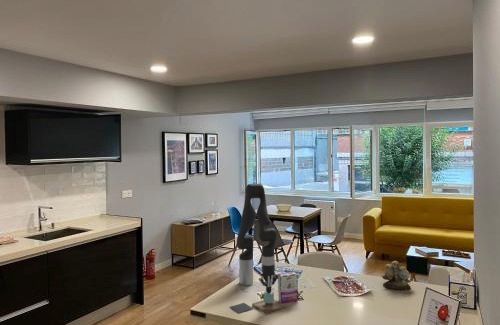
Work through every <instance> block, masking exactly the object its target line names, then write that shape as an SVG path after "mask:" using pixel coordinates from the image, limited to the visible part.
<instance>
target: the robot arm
mask: <svg viewBox="0 0 500 325" xmlns="http://www.w3.org/2000/svg"><path fill="white" fill-rule="evenodd" d="M265 192H266V191H265V186H264V185H263V184H262V183H248V184H247V185H246V186H245V192H244V201H243V202H244V204H243V209H242V214H241V220H240V226H239V230H238V232H237V233H238V234H237V238H236V247H237V249H238V250H244V251H243V252H241V253H240V254H239V256H238V258H239V260H238V261H239V262H238V263H239V268H238V276H239V277H238V278H239V279H238V280H239V285H241V286H247V287H248V286H252V285H253V284H254V258H253V257H254V237H253V236H252V234H247V233H248V232H249V231H250V230H251V229H252V228H253V226H254V225H255V223H256V220H257V223H258V239H259V240H260V241H261V242H268V243H266V244H263V245H262V246H261V252H262V253H261V271H262V274H261V277H259V278H258V281H259V282H260V283H261V284H262V286H264V287H265V291H266V292H267V293H271V291H272V286H273V285H274V286H275V284H276V282H277V281H278V274H276V272H275V271H276V265H275V264H276V262H275V261H276V260H275V259H276V258H275V246H276V242H277V238H278V232H277V230H276V229H275V228H273V227H271V228H270V227H269V226H271V219H270V216H269V213H268V207H267V200H266V199H267V197H266V193H265ZM252 199H259V205H258V207H257V210H255V208H254V206H253V204H252ZM268 227H269V228H268Z"/></svg>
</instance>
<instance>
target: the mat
mask: <svg viewBox="0 0 500 325" xmlns="http://www.w3.org/2000/svg"><path fill="white" fill-rule="evenodd" d="M229 308H230V309H231V310H232V311H234V312H235V313H236V314H242V313H246V312H248V311H251V310H254V307H253V306H250V305H248V304H247V303H245V302H241V303H238V304H234V305H231V306H229Z"/></svg>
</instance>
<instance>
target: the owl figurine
mask: <svg viewBox="0 0 500 325" xmlns="http://www.w3.org/2000/svg"><path fill="white" fill-rule="evenodd" d="M399 265H400V264H399V261H397V260H394V261H392V262H391V263H387V264H385V266H384V268H385V269H384V274H381V278H382V279H384V280H385V281H384V283H382V286H383V287H384V288H385V289H388V290H394V291H409V290H411V285H410V284H409V283H411V282H412V280H411V279H409V278H410V273H409V271H408V270H407V268H406V266H399Z"/></svg>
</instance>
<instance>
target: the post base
mask: <svg viewBox="0 0 500 325" xmlns="http://www.w3.org/2000/svg"><path fill="white" fill-rule="evenodd" d="M251 307H252V308H254V309H257V310H258V311H260V312H261V313H263V314H264V315H270V314H272V313H276V312H279V311H282V310H286V309H287V305H286V304H284V303H281V302H280V301H279V300H276V299H274V302H273V303H265V302H264V299H263V300H260V301H256V302H254V303H252V306H251Z"/></svg>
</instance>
